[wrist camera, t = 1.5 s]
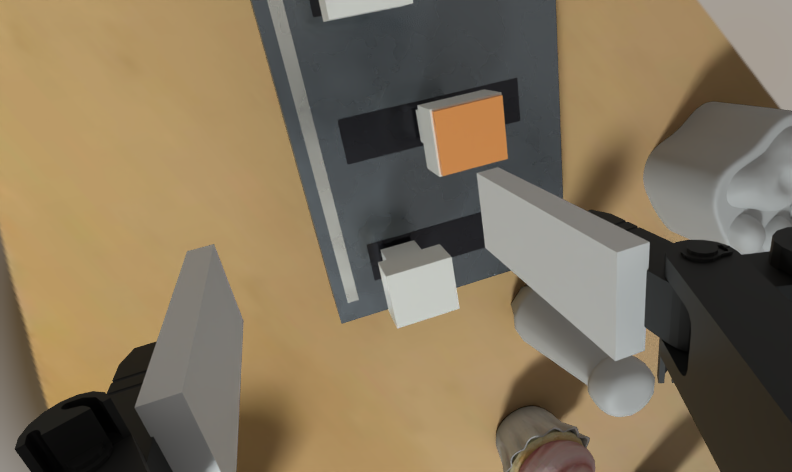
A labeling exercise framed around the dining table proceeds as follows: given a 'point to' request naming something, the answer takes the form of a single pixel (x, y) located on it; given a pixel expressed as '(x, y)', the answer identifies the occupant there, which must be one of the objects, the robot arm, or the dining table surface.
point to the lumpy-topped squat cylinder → (725, 176)
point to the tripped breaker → (463, 131)
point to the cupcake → (541, 443)
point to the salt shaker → (583, 356)
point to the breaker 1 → (356, 7)
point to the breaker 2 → (417, 282)
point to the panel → (407, 125)
